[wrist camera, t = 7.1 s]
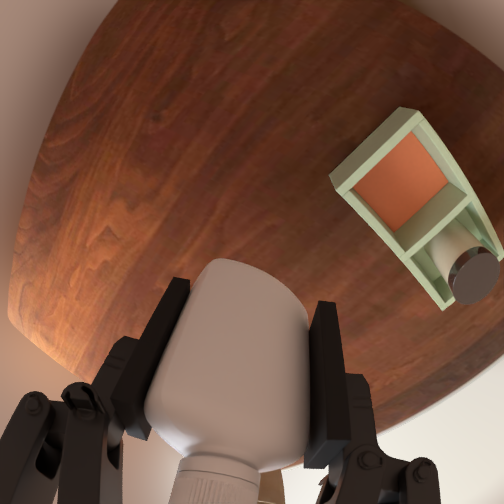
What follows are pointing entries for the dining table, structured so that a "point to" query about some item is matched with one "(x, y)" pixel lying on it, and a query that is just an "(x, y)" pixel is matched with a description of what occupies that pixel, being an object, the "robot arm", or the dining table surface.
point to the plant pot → (271, 488)
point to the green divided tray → (412, 194)
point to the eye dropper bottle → (233, 385)
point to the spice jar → (463, 262)
